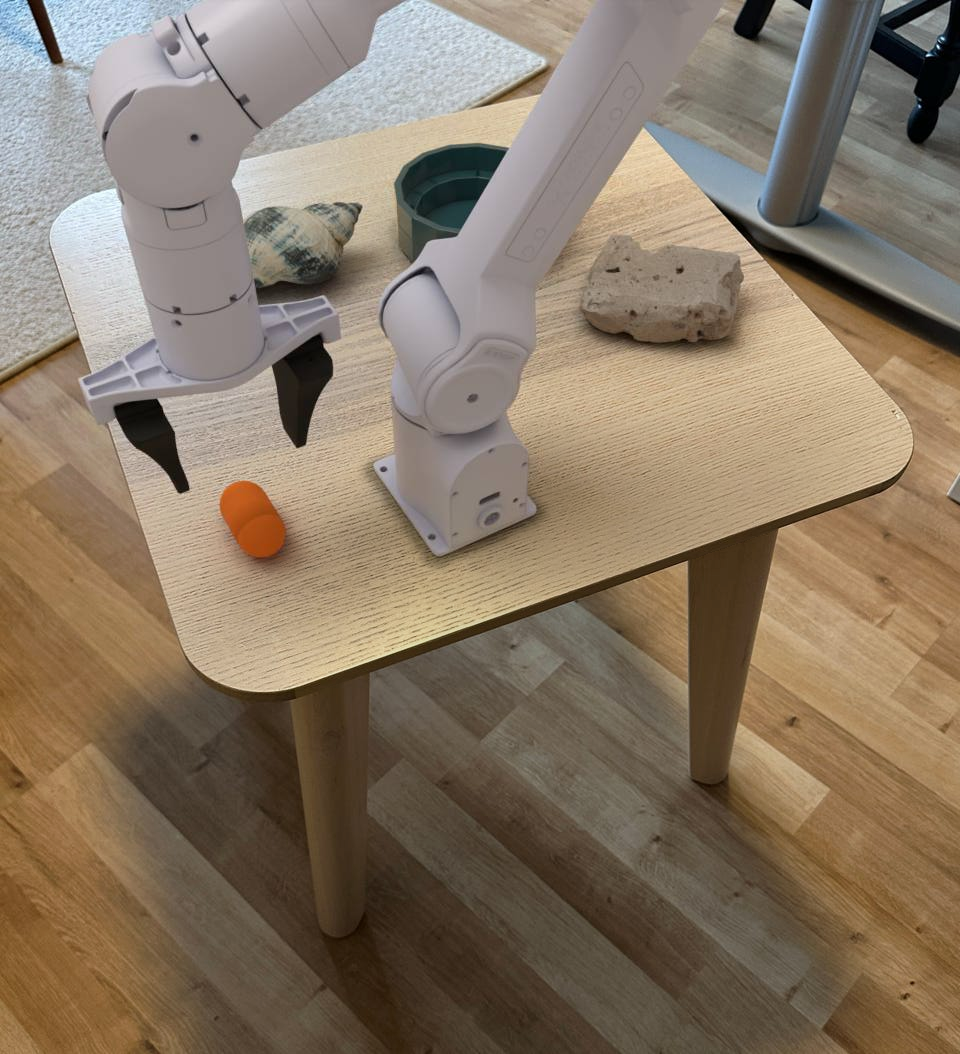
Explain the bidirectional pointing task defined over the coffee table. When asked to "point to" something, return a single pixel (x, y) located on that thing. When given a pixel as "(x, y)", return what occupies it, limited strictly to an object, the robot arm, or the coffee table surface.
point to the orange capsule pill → (252, 519)
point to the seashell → (299, 241)
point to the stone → (662, 291)
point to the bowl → (441, 192)
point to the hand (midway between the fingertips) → (238, 459)
